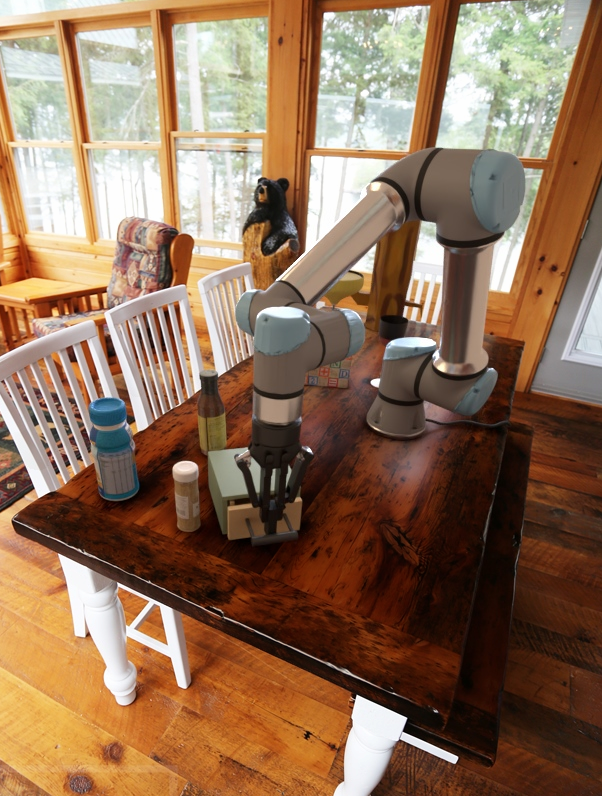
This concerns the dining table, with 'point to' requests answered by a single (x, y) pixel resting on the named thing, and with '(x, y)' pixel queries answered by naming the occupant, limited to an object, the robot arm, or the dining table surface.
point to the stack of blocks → (330, 374)
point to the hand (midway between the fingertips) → (269, 534)
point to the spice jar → (187, 495)
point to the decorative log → (391, 275)
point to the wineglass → (390, 332)
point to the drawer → (249, 523)
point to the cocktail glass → (345, 287)
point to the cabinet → (232, 481)
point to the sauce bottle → (211, 414)
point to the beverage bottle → (113, 449)
